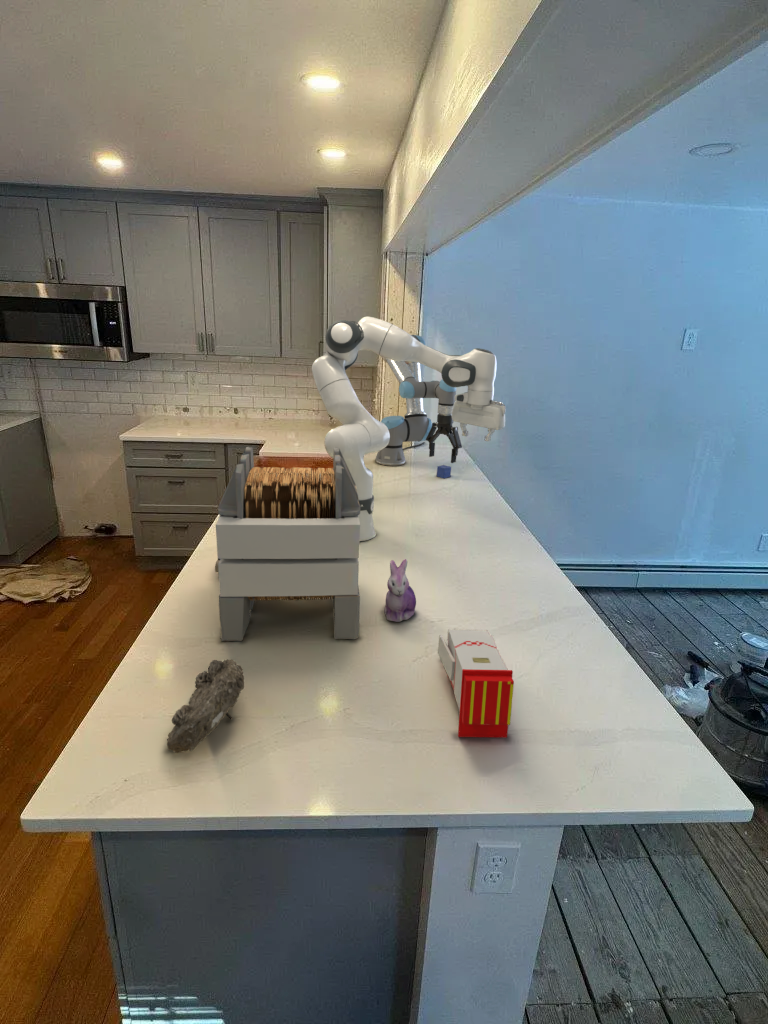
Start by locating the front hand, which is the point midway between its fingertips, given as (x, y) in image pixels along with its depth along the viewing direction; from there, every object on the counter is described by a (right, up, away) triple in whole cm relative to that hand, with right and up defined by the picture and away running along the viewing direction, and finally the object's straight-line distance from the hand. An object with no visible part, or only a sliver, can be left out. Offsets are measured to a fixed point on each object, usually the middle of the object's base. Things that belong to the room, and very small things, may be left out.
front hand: (475, 438), depth 197 cm
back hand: (-5, -1, +69) cm, 69 cm away
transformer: (-56, -50, -48) cm, 90 cm away
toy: (-14, -63, -79) cm, 102 cm away
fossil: (-65, -65, -89) cm, 128 cm away
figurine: (-28, -52, -50) cm, 77 cm away
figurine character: (-77, -43, -30) cm, 93 cm away
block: (-4, -9, +74) cm, 75 cm away
